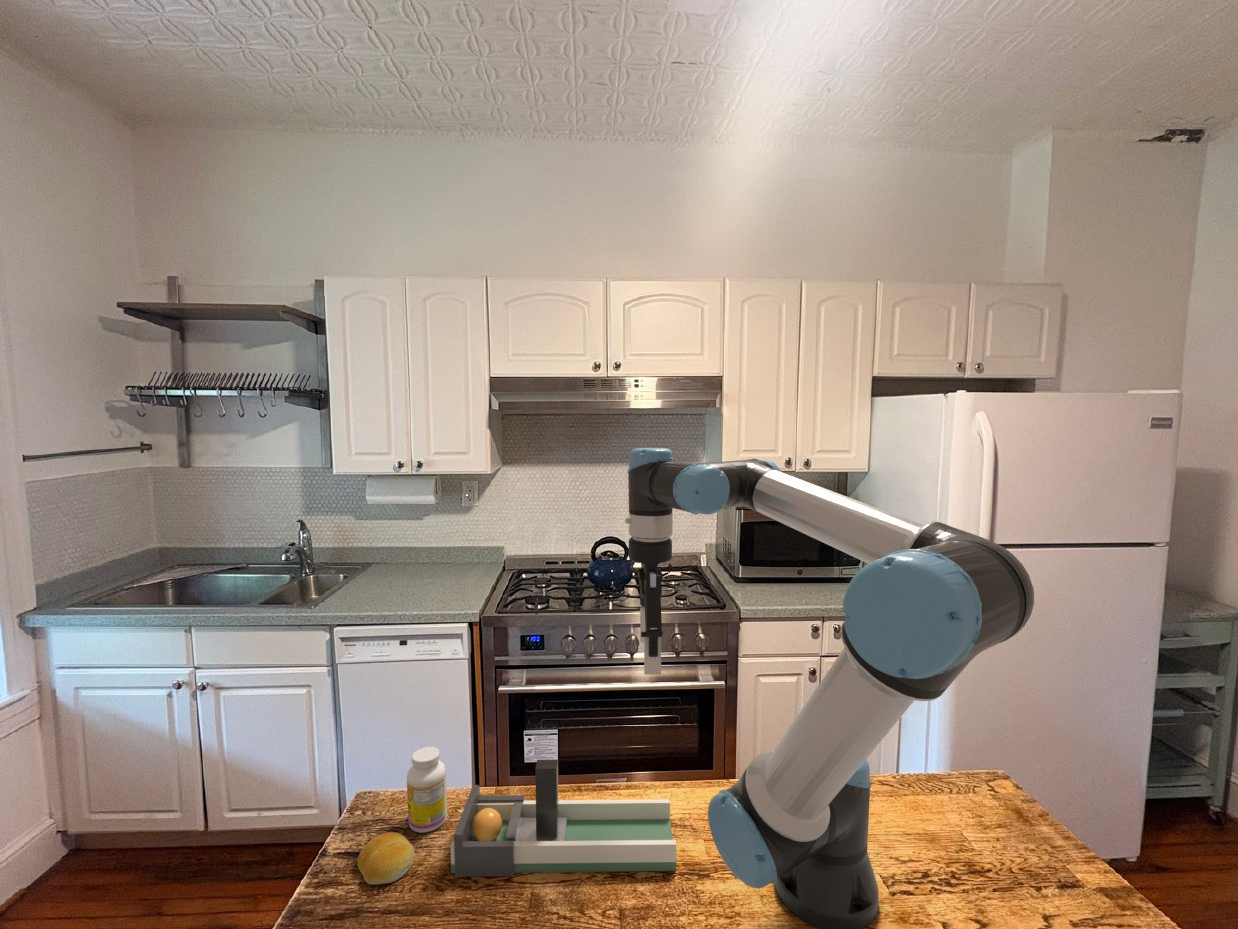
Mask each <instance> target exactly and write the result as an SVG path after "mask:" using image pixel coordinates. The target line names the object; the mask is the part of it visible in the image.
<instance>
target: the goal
mask: <svg viewBox="0 0 1238 929" xmlns="http://www.w3.org/2000/svg"><path fill="white" fill-rule="evenodd" d="M480 793H481V792H480V784H474V785H472V786H471V788H470V792H469V793H468V794H469V795H468V797H467V799H466V803H465V804H464V808H463V810H462V813H461V816H460V818H459V820H458V824H457V826H456V829H455V831H454V834H453V842H454V854H455V873H454V877H457V878H458V877H513V876H514V874H515V872H514V849H513V846H514V841H471V840H472V837H473V833H472V822H473V819H474V817H475V816H476V814H477V813H478V803H509V802H524V801H526V799H525V795H523V794H518V795H516V794H515V795H514V794H513V795H505V794H504V795H481V794H480Z"/></svg>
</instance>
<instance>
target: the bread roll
mask: <svg viewBox="0 0 1238 929" xmlns="http://www.w3.org/2000/svg"><path fill="white" fill-rule="evenodd" d="M414 860H415V847H414V846H413V844H412V843H411V842H410V841H409V840H408V839H407V837H405V836H404V834H403V835H402V834H401V833H400V832H396V831H395V832H392V831H389V832H384V833H381V834H378V835H377V836H374V838H372V839H371V840H370V841H368V842H367V844H365V845H364V847H363V848H362V849H361V851H360V852H359V855H358V856H357V868H358V870H359V871H360V873H361V874H362V876H363V879H364V881H365V882H366V883H367V884H369V885H384V884H391V883H394V882H395V881H397V880H399V879H401V878H402V877H403V876H404V875H405V874H407V873H408V871H409V870H410V868H411V867H412V866H413V863H414Z"/></svg>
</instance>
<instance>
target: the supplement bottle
mask: <svg viewBox="0 0 1238 929" xmlns="http://www.w3.org/2000/svg"><path fill="white" fill-rule="evenodd" d="M411 764H412V766H411V767H410V768H409V769H408V771H407V774H406V787H407V790H406V791H407V797H406V798H407V817H408V818H407V819H408V821H407V822H408V826H409V828H410V829H411V830H412V831H414V832H415V833H421V834H423V833H431V832H433V831H435V830H438V829H439V828H440V827H441V826H443V824H444V823H445V822H446V819H447V818H448V806H447V805H448V802H447V801H448V800H447V774H446V773H447V769H446V766H445V764H444V763H443V761H441V760H440V750H439V748H437V747H435V746H425V747H422V748H421V747H420V748H418V749H417V750H415V751H414V752H413V753H412V756H411Z"/></svg>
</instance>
